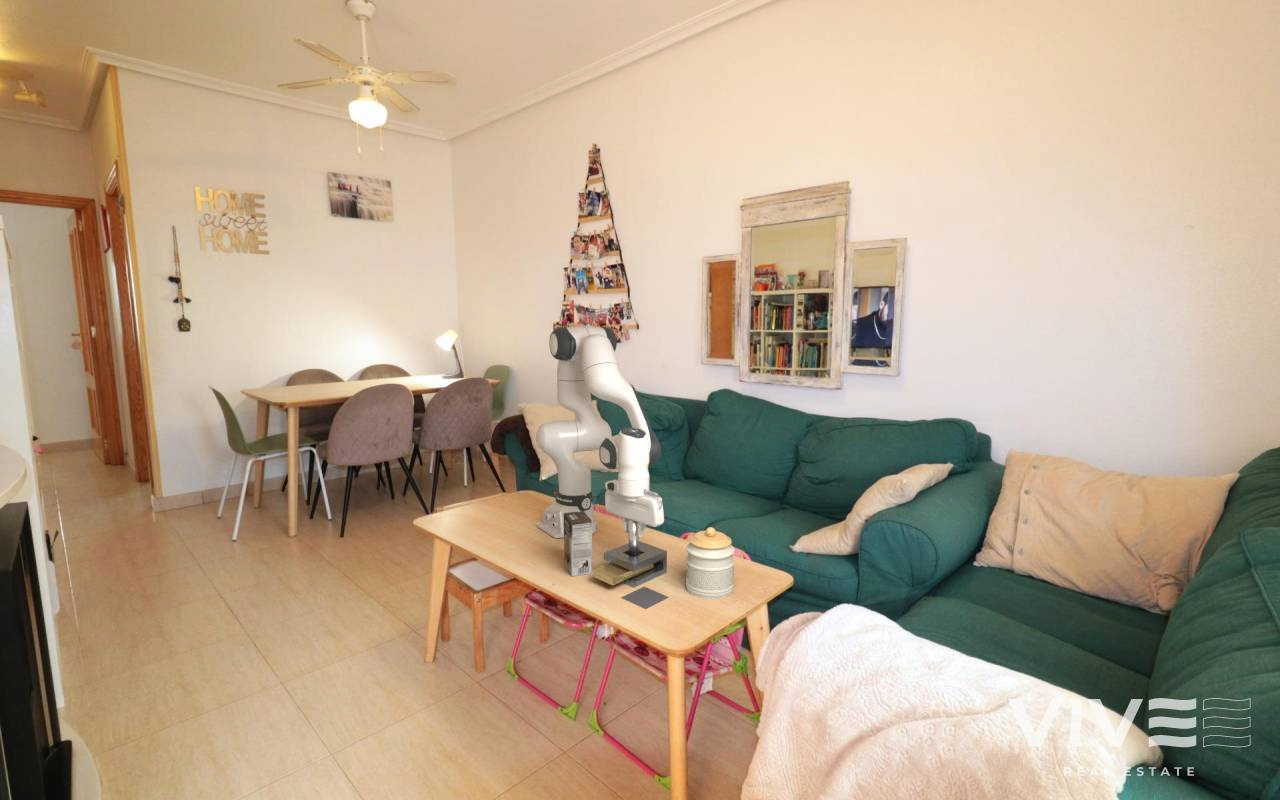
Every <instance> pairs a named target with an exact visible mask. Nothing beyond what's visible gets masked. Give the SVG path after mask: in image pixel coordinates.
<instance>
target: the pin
mask: <svg viewBox="0 0 1280 800" xmlns="http://www.w3.org/2000/svg"><path fill="white" fill-rule="evenodd" d="M638 528H639V525H638V522H636V521H633V520H630V519H628V533H627V534H628V535H627V537H628V538H627V539H628V541H627V544H628V549H629V554H630V555H638V554H639V541H640V537H638V536H636V535H635V534H636V533H635V530H638Z"/></svg>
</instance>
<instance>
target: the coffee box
mask: <svg viewBox="0 0 1280 800" xmlns="http://www.w3.org/2000/svg"><path fill="white" fill-rule="evenodd" d="M563 539H564V541H563V546H564V548H563V549H564V550H563V551H564V565H565V567H566V569H567V571H568V573H569V575H570V576H571V577H578V576H586V575H593V534H592V520H591V519H590V518H589V517H588V516H587V515H586V513H585V512H584V511H582V512H570V513H564V537H563Z"/></svg>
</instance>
